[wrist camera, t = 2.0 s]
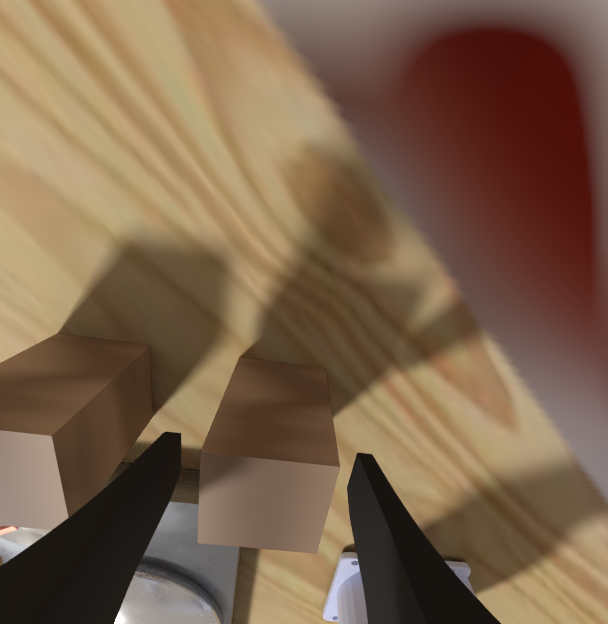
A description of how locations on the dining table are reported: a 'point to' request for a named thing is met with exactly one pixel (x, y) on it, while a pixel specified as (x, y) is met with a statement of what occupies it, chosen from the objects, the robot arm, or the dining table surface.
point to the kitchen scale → (167, 565)
